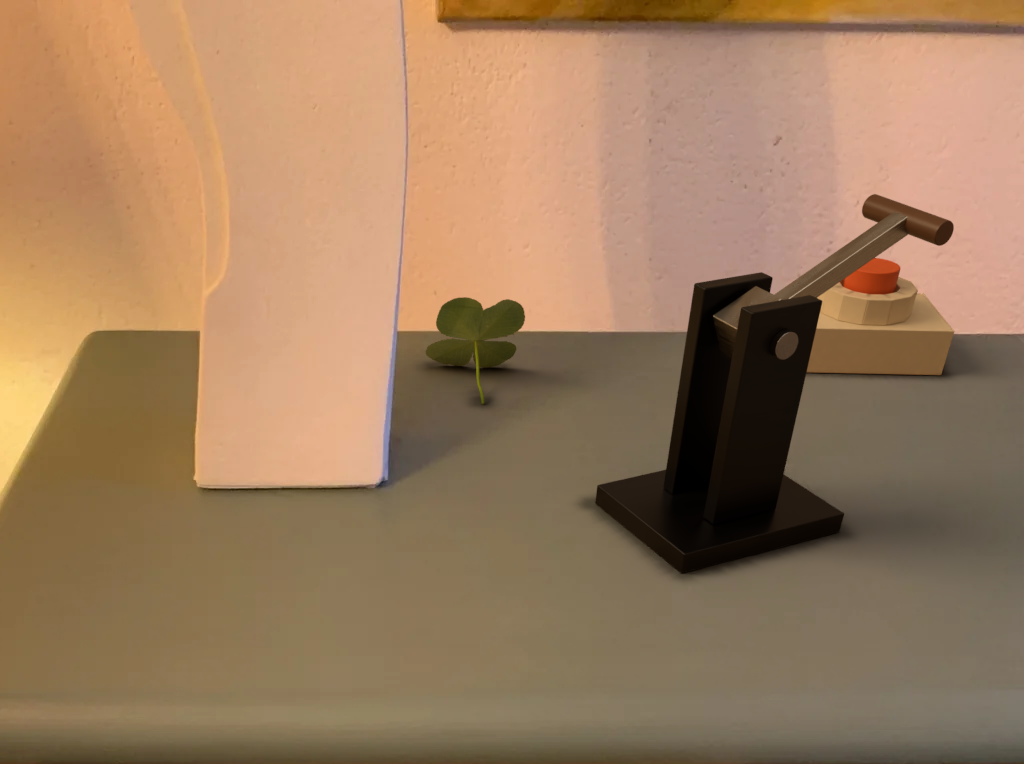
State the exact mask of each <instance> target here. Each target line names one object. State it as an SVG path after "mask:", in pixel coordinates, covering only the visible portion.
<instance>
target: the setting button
mask: <svg viewBox="0 0 1024 764" xmlns="http://www.w3.org/2000/svg"><path fill="white" fill-rule="evenodd" d="M900 272H901V266H900V264H898V262H897V263H896V262H894V261H892V260H889V259H884V258H880V257H875V258H874V259H872V260H871V261H869V262H868V263H866V264H865V265H864V266H862V267H861V268H859V269H858V270H856V271H855V272H853V273H852V274H851V275H849V276H848V277H846V278H845V281H844V285H843V287H845V288H847V289H849V290H852V291H855V292H860V293H865V294H883V295H885V294H890V293H894V292H895V288H896V284H897V280H898V277H900Z"/></svg>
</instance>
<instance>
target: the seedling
mask: <svg viewBox="0 0 1024 764" xmlns="http://www.w3.org/2000/svg"><path fill="white" fill-rule="evenodd" d="M525 322H526V313H525V309H524V307H523V305H522V304H521V303H519V302H518V301H517V300H512V299H509V298H508V299H507V298H506V299H502V300H500V301H497V303H496V304H494V305H491V306H489V307H486V308H485V309H484V308H483V305H482V303H481V302H480V301H479V300H477V299H475V298H471V297H467V296H466V297H463V296H462V297H456V298H451V299H450V300H448V301H446V302H444V303H443V304H442V306H440V309H439V311H438V313H437V317H436V321H435V326H436V329H437V331H439V332H440V334H442V335H443V336H445V337H449V338H445V339H440V340H437V341H435V342H433V343H431V344H429V345H427V347H426V349H425V355H426V356H427V357H428V358H429V359H431V360H433V361H434V362H437V363H438V364H442V365H451V366H454V367H455V366H456V367H463V366H466V365H468V364H469V363H470V362H471V359H472V358H473V362H474V365H475V369H476V371H475V372H476V373H475V374H476V375H475V376H476V383H477V384H476V385H477V388H478V392H479V395H480V403H481V405H482V406H484V405H485V396H484V392H483V389H482V385H481V384H482V383H481V377H480V368H484V369H486V368H495V367H498V366H500V365H502V364H504V363H505V362H507V361H509V360H510V359H512V358H513V357H514V356H515V353H517V352H516V351H517V346H516V345H515V343H513V342H510V341H505V340H504V341H503V340H501V341H500V340H499V341H498V340H494V339H499V338H506V337H508V336H512V335H514V334H515V333H517V332H519V330H521V329H522V328H523V326H524V324H525ZM492 339H493V340H492Z"/></svg>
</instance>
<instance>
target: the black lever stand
mask: <svg viewBox="0 0 1024 764" xmlns="http://www.w3.org/2000/svg"><path fill="white" fill-rule="evenodd" d="M772 285H773V276H771V275H769V274H767V273H765V272H763V271H761V272H753V273H749V274H742V275H735V276H730V277H725V278H717V279H713V280H706V281H701V282H694V285H693V290H692V297H691V303H690V310H689V317H688V323H687V324H688V325H687V329H686V336H685V344H684V349H683V355H682V362H681V369H680V375H679V381H678V387H677V395H676V400H675V401H676V402H675V408H674V416H673V421H672V428H671V436H670V440H669V441H670V442H669V447H668V454H667V459H666V460H667V461H666V467H665V469H663V470H657V471H653V472H649V473H645V474H640V475H636V476H632V477H627V478H623V479H620V480H614V481H609V482H605V483H601V484H597V485H596V493H595V505H597V506H598V507H600V508H601V509H602V510H603V511H604V512H605V513H607V515H609V516H610V517H612V518H613V519H614V520H615V521H617V522H618V524H620V525H621V526H623V527H624V528H625V529H626V530H628V531H629V532H630V533H631V534H632V535H634V536H635V537H636V538H637V539H639V540H640V541H641V542H642V543H644V544H645V545H646V546H647V547H648V548H649V549H651V550H652V551H653V552H654V553H656V554H657V555H658V556H660V558H662V559H663V560H664V561H665V562H667V563H668V564H669V565H670V566H672V567H673V568H674V569H676V570H677V571H678V572H679V573H680V574H684V573H688V572H693V571H695V570H700V569H704V568H706V567H710V566H711V567H712V566H714V565H719V564H723V563H726V562H730V561H734V560H739V559H742V558H745V557H749V556H752V555H756V554H760V553H764V552H769V551H772V550H775V549H780V548H783V547H787V546H791V545H794V544H799V543H802V542H807V541H810V540H813V539H814V540H815V539H818V538H821V537H826V536H829V535H832V534H836V533H840V532H841V528H842V524H843V519H844V516H845V512H843V511H841V510H840V509H838V508H836V507H835V506H834V505H832V504H830V503H829V502H827V501H826V500H824V499H822V498H821V497H819V496H818V495H817V494H815V493H813V492H812V491H810V490H808V489H807V488H806V487H804V486H803V485H801V484H799V482H797V481H795V480H793V479H792V478H790V477H788V476H787V475H786V474H785V469H786V465H787V460H788V457H789V452H790V448H791V443H792V439H793V434H794V429H795V425H796V422H797V416H798V412H799V408H800V403H801V399H802V394H803V391H804V385H805V381H806V377H807V373H808V372H807V368H808V364H809V359H810V355H811V350H812V346H813V341H814V337H815V333H816V328H817V324H818V319H819V315H820V310H821V306H822V300H820V299H818V298H816V297H814V296H811V295H808V296H802V297H797V298H791V299H785V300H780V301H774V302H768V303H763V304H757V305H751V306H746V307H742V308H741V311H740V316H739V322H738V327H737V333H736V338H735V344H734V349H733V355H732V360H731V359H729V358H727V357H726V356H724V355H722V354H721V351H720V346H719V342H718V337H717V333H716V329H715V324H714V320H713V315H715V314H716V313H718V312H719V311H720V310H722V309H723V308H725V307H726V306H728V305H729V304H731V303H732V302H733V301H735V300H736V299H738V298H739V297H741V296H742V295H744V294H745V293H746V292H748V291H749V290H751V289H752V288H754V287H755V286H757V287H759V288H761V289H763V290H765V291H767V292H769V293H771V289H772Z"/></svg>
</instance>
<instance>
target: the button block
mask: <svg viewBox="0 0 1024 764" xmlns="http://www.w3.org/2000/svg"><path fill="white" fill-rule="evenodd" d="M844 281H845V279H843V280H842V281H840V282H839V283H838V284H836V285H835V286H833V287H832V288H830V289H829V290H827V291H826V292H825V293H823V294H822V295H820V296H819V297H817V298H818V299H820V300H822V306H821V310H820V315H819V319H818V324H817V328H816V333H815V337H814V341H813V346H812V350H811V355H810V359H809V364H808V368H807V372H806V373H814V374H815V373H816V374H817V373H819V374H820V373H821V374H824V373H825V374H865V375H867V374H869V375H906V376H907V375H910V376H911V375H913V376H915V375H916V376H942V374H943V372H944V371H943V370H944V367H945V364H946V361H947V358H948V354H949V351H950V348H951V345H952V341H953V339H954V335H955V330H954V329H953V327H952V326H951V325H950V323H948V321H947V320H946V319H945V318H944V316H943V315H942V314H941V313H940V312H939V310H938V309H937V308H936V306H935V305H934V304H933V303H932V302H931V300H930V299H929V298H928V297H927V296H926V294H925V293H919V292H918V291H919V289H918V288H917V286H916V285H914V283H913V282H912V281H911V280H909V279H906V278H903V277H901V276H898V280H897V284H896V288H895V292H894V293H890V294H885V295H883V294H865V293H860V292H855V291H852V290H849V289H847V288H845V287H843V285H844Z"/></svg>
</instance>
